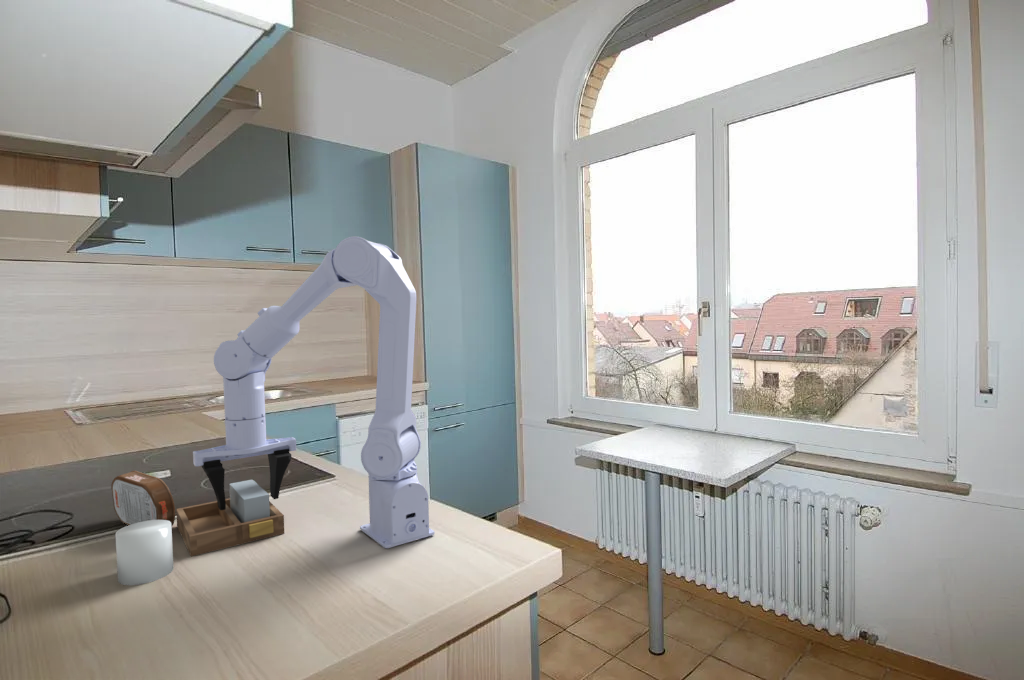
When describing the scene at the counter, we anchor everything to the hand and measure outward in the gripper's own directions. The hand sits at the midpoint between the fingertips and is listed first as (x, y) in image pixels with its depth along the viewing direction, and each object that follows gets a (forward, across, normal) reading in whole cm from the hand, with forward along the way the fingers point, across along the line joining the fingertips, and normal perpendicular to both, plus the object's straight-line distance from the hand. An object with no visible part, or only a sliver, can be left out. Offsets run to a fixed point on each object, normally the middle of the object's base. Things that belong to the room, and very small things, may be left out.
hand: (248, 502), depth 87 cm
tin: (+4, +13, -10) cm, 17 cm away
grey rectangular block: (+3, 0, 0) cm, 3 cm away
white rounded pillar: (+4, +14, +9) cm, 17 cm away
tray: (+4, +3, 0) cm, 5 cm away
